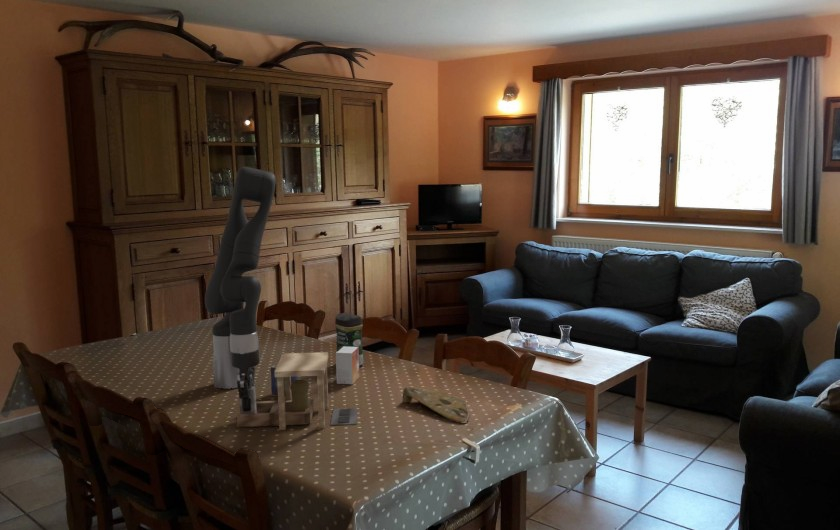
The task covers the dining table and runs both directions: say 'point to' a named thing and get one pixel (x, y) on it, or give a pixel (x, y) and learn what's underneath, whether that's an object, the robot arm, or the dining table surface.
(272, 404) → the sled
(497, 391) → the dining table surface
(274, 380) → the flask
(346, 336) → the coffee jar
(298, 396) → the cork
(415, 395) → the decorative stone
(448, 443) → the dining table surface
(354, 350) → the small box
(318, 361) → the wooden stool
